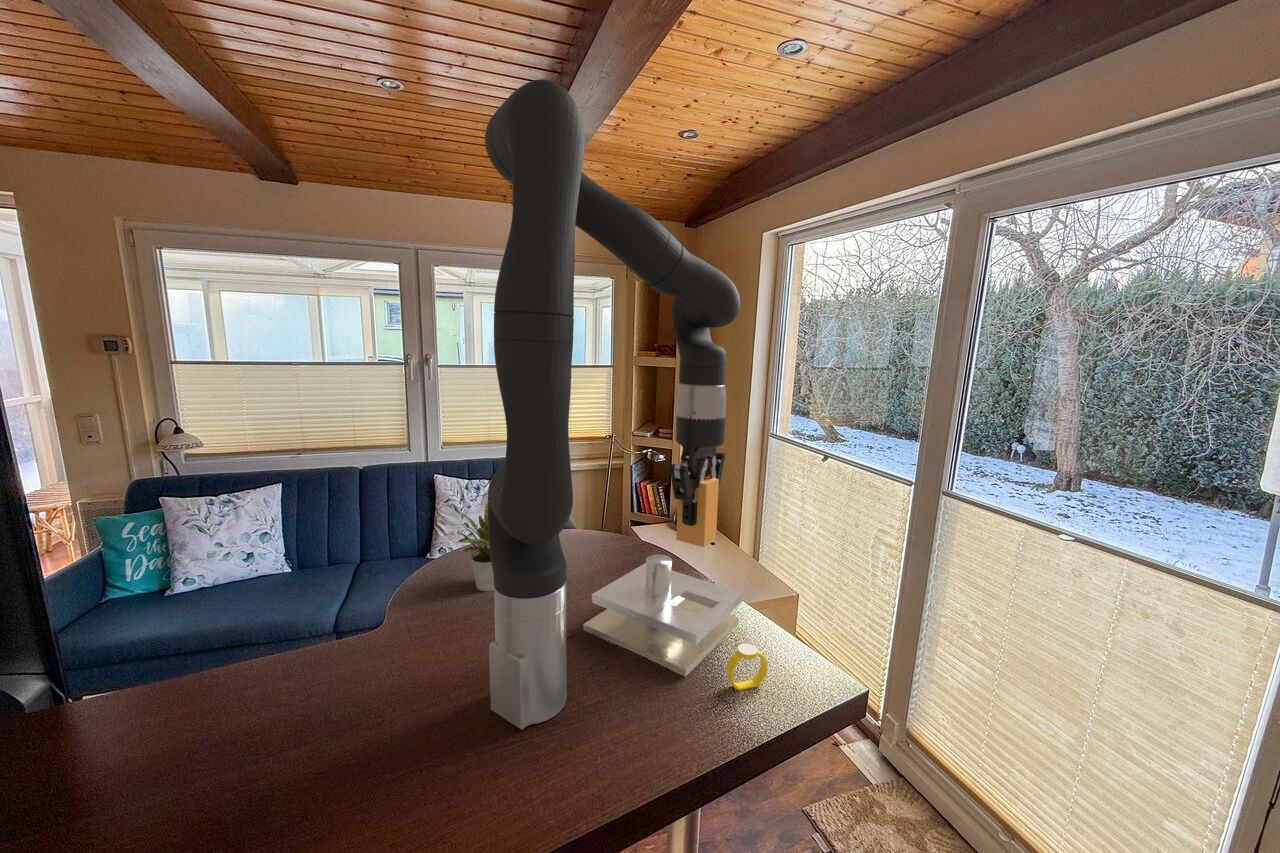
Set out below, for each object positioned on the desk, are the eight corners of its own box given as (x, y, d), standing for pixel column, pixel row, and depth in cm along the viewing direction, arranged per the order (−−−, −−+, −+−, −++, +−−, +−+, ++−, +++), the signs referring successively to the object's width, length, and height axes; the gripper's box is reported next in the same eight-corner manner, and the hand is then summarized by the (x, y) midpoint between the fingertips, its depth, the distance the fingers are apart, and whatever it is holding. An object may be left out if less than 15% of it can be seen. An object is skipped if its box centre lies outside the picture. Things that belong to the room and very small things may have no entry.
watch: (732, 698, 71) (732, 659, 70) (723, 685, 74) (722, 648, 73) (770, 687, 73) (770, 649, 72) (760, 675, 76) (759, 638, 74)
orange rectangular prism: (704, 547, 79) (706, 484, 77) (676, 539, 81) (678, 478, 80) (716, 539, 82) (718, 479, 80) (688, 532, 85) (691, 473, 83)
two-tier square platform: (691, 679, 74) (694, 602, 72) (583, 630, 86) (583, 563, 84) (743, 625, 89) (747, 560, 87) (644, 590, 101) (645, 532, 99)
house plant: (446, 574, 106) (443, 498, 103) (513, 563, 112) (512, 491, 109) (452, 606, 93) (449, 520, 91) (528, 592, 99) (527, 511, 96)
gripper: (699, 421, 70) (695, 539, 73) (743, 411, 82) (737, 513, 85) (654, 415, 75) (651, 527, 78) (701, 407, 86) (697, 505, 89)
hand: (696, 519), depth 81 cm, fingers closed on orange rectangular prism, 4 cm apart
